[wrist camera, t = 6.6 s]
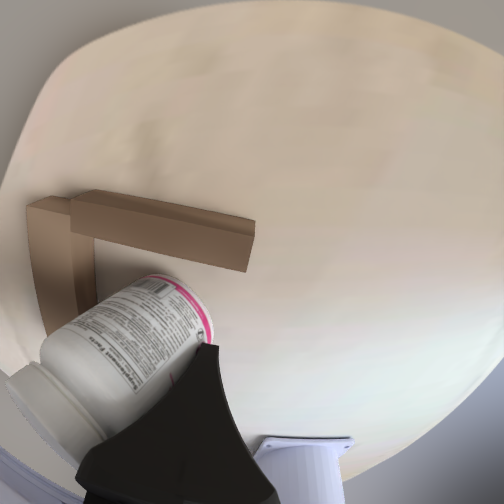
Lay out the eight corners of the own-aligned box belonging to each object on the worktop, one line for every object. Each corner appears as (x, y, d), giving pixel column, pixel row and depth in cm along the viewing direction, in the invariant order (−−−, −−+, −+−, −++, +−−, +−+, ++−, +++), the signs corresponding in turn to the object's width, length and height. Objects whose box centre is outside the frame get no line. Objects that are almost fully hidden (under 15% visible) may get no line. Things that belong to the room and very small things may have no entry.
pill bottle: (189, 371, 13) (93, 486, 6) (124, 312, 14) (8, 397, 6) (237, 323, 11) (110, 487, 4) (155, 250, 12) (-15, 343, 4)
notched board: (215, 388, 15) (211, 413, 13) (68, 343, 15) (55, 361, 13) (255, 221, 11) (254, 236, 9) (51, 182, 11) (26, 191, 9)
